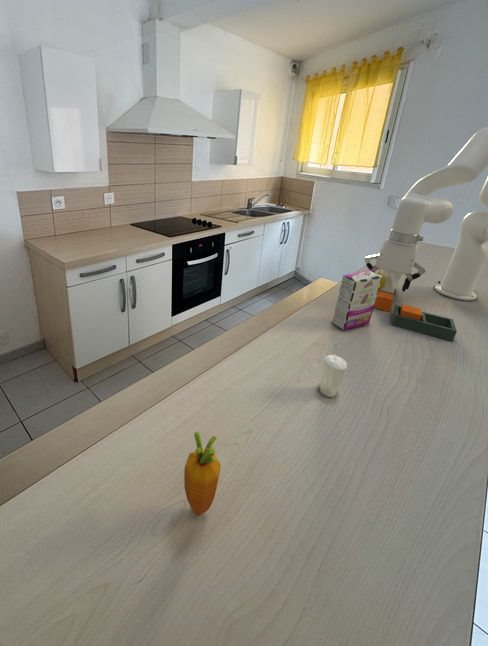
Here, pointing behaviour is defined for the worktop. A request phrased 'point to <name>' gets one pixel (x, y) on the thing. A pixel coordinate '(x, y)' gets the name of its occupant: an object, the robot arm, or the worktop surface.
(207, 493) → the carrot
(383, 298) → the loose pad
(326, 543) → the worktop surface
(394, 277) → the skyscraper
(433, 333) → the pad holder
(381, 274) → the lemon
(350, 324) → the candy bar box
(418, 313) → the seated pad
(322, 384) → the milkshake
